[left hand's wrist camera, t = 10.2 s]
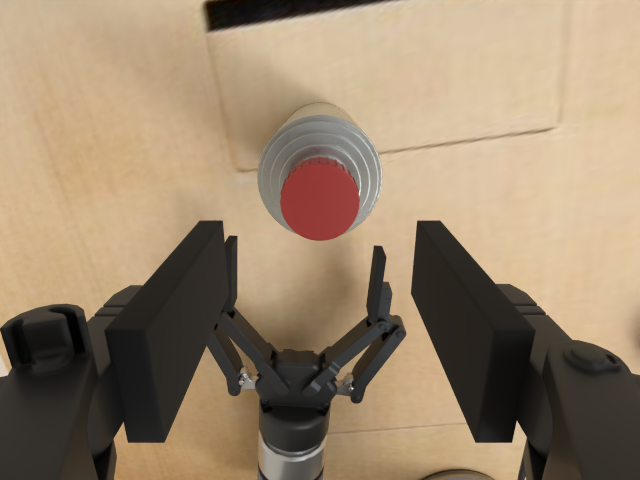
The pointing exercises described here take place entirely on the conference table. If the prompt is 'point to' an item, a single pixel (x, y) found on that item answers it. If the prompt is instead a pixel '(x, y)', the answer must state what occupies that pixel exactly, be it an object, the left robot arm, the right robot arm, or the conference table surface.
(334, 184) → the cap
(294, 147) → the bottle
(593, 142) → the conference table surface
